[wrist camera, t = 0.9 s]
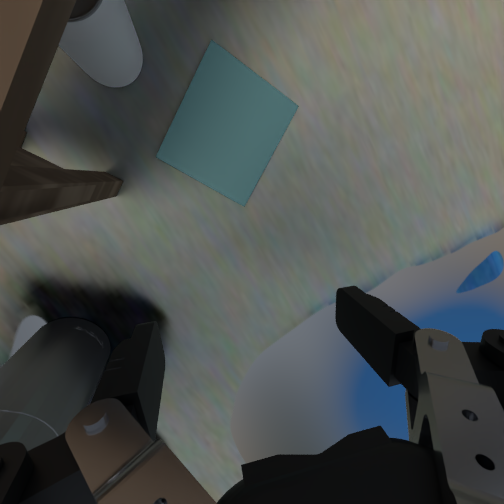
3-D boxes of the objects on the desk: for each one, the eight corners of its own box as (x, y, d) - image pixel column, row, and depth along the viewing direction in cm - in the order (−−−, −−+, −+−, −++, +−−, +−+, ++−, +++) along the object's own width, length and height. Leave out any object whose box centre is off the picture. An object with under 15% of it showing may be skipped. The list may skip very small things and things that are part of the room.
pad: (297, 106, 33) (298, 106, 32) (243, 206, 34) (244, 206, 34) (211, 41, 29) (211, 39, 28) (156, 157, 31) (155, 157, 30)
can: (88, 0, 26) (8, -139, 14) (153, 42, 28) (128, -52, 16) (66, 65, 27) (-26, -17, 15) (130, 101, 29) (92, 51, 17)
